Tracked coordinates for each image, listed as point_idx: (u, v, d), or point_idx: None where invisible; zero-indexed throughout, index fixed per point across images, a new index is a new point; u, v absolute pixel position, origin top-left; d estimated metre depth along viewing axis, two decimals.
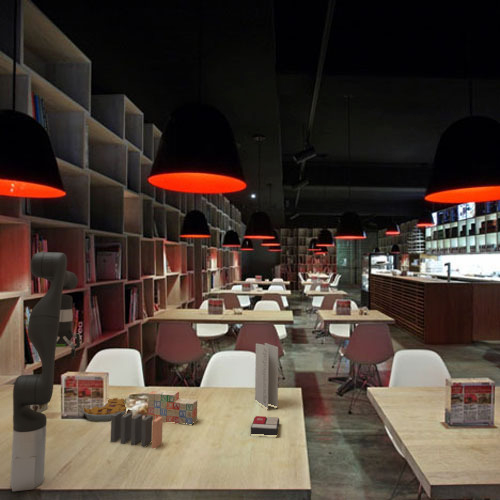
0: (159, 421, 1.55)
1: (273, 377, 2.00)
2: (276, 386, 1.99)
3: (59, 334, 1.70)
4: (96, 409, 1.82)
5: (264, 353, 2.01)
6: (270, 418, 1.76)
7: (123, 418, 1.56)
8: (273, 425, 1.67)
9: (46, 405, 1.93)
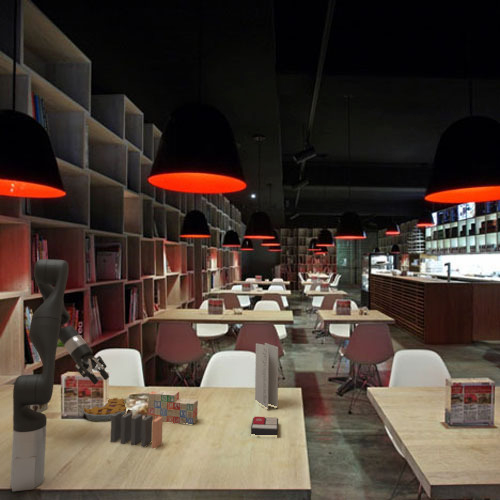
0: (159, 421, 1.55)
1: (273, 377, 2.00)
2: (276, 386, 1.99)
3: (86, 358, 1.64)
4: (96, 409, 1.82)
5: (264, 353, 2.01)
6: (269, 418, 1.76)
7: (123, 418, 1.56)
8: (273, 425, 1.67)
9: (46, 405, 1.93)
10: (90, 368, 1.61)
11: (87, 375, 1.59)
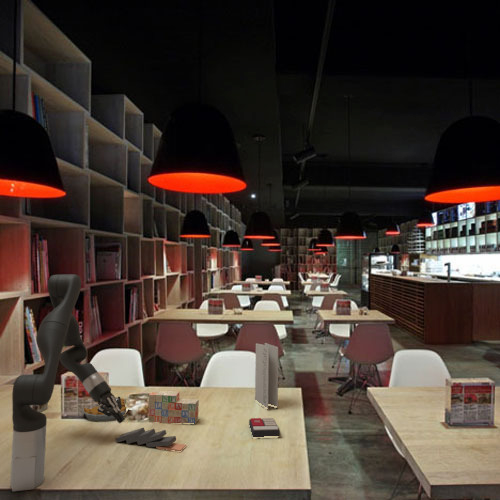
0: None
1: (273, 377, 2.00)
2: (276, 386, 1.99)
3: (105, 397, 1.61)
4: (96, 409, 1.82)
5: (264, 353, 2.01)
6: (266, 419, 1.75)
7: (147, 436, 1.53)
8: (273, 426, 1.66)
9: (46, 405, 1.93)
10: (113, 407, 1.59)
11: (112, 414, 1.58)
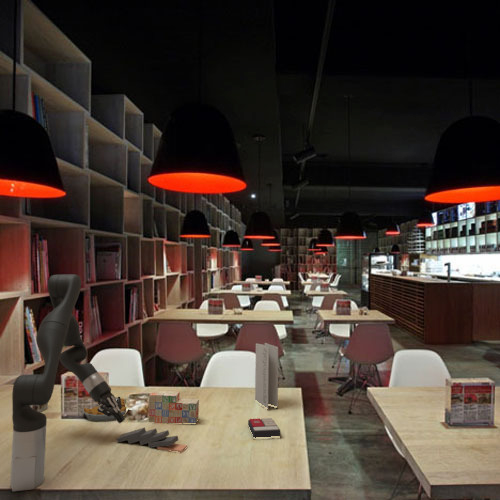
0: None
1: (273, 377, 2.00)
2: (276, 386, 1.99)
3: (105, 397, 1.61)
4: (96, 409, 1.82)
5: (264, 353, 2.01)
6: (265, 419, 1.74)
7: (149, 436, 1.54)
8: (274, 426, 1.66)
9: (46, 405, 1.93)
10: (113, 407, 1.59)
11: (112, 414, 1.58)
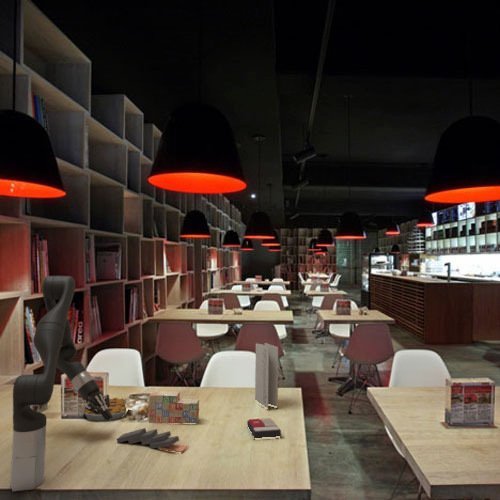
0: None
1: (273, 377, 2.00)
2: (276, 386, 1.99)
3: (93, 395, 1.62)
4: None
5: (264, 353, 2.01)
6: (265, 420, 1.74)
7: (150, 436, 1.54)
8: (274, 426, 1.66)
9: (46, 405, 1.93)
10: (101, 405, 1.61)
11: (100, 412, 1.60)
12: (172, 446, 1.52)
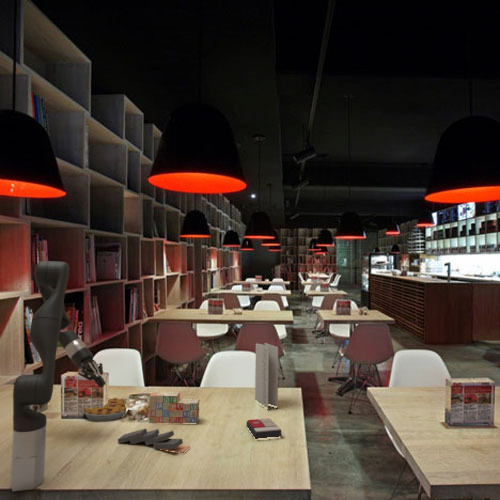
0: None
1: (273, 377, 2.00)
2: (276, 386, 1.99)
3: (87, 362, 1.64)
4: (96, 409, 1.82)
5: (264, 353, 2.01)
6: (264, 420, 1.74)
7: (152, 436, 1.54)
8: (274, 427, 1.66)
9: (46, 405, 1.93)
10: (94, 372, 1.62)
11: (93, 378, 1.61)
12: None
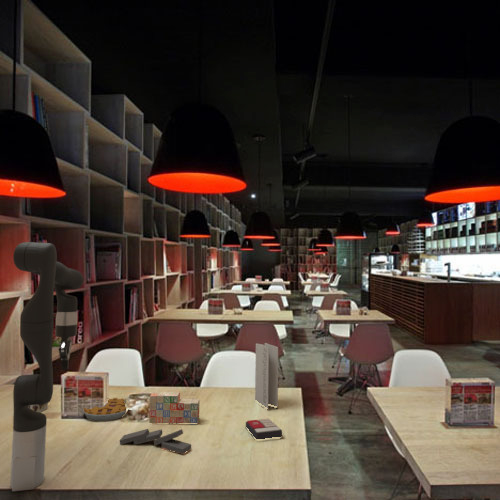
0: None
1: (273, 377, 2.00)
2: (276, 386, 1.99)
3: (68, 339, 1.53)
4: (96, 409, 1.82)
5: (264, 353, 2.01)
6: (263, 420, 1.73)
7: (158, 437, 1.55)
8: (274, 427, 1.65)
9: (46, 405, 1.93)
10: (68, 353, 1.53)
11: (64, 359, 1.51)
12: None
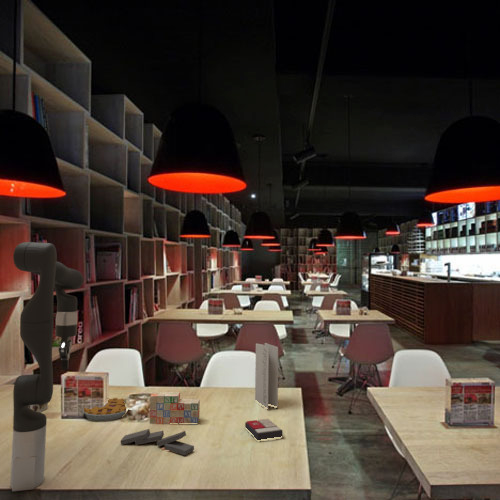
0: None
1: (273, 377, 2.00)
2: (276, 386, 1.99)
3: (68, 339, 1.53)
4: (96, 409, 1.82)
5: (264, 353, 2.01)
6: (263, 421, 1.73)
7: (160, 438, 1.55)
8: (275, 427, 1.65)
9: (46, 405, 1.93)
10: (68, 353, 1.53)
11: (64, 359, 1.51)
12: None
